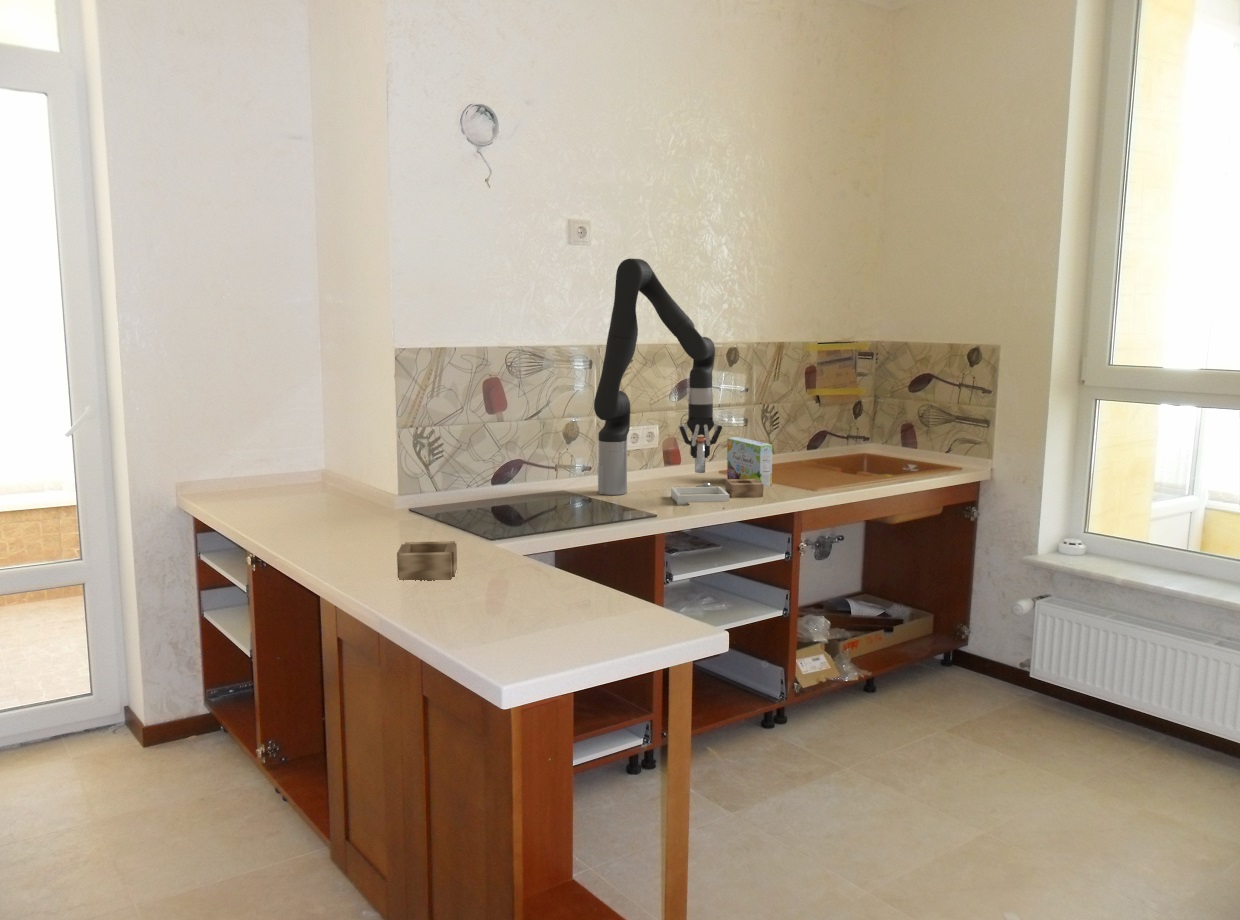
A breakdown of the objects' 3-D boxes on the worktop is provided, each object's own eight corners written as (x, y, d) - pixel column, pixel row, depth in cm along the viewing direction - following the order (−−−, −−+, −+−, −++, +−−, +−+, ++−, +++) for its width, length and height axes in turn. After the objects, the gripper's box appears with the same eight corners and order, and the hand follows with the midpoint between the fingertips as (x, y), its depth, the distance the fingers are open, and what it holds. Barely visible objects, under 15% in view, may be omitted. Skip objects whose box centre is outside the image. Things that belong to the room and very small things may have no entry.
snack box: (725, 479, 338) (726, 437, 336) (739, 478, 341) (740, 436, 338) (758, 489, 319) (759, 444, 317) (772, 488, 322) (774, 443, 319)
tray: (677, 505, 293) (677, 495, 292) (670, 496, 306) (671, 487, 306) (729, 504, 294) (729, 494, 294) (720, 495, 308) (720, 486, 307)
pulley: (697, 496, 307) (697, 485, 306) (693, 492, 314) (694, 481, 313) (719, 496, 307) (719, 485, 307) (715, 492, 314) (715, 481, 314)
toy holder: (396, 587, 204) (395, 555, 203) (404, 572, 216) (403, 542, 215) (453, 586, 205) (452, 554, 204) (457, 571, 217) (457, 541, 216)
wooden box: (731, 500, 300) (731, 484, 299) (725, 494, 310) (725, 479, 309) (763, 500, 301) (763, 484, 300) (755, 494, 311) (756, 478, 310)
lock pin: (694, 473, 297) (695, 438, 295) (692, 471, 301) (692, 436, 299) (707, 473, 297) (707, 437, 295) (705, 471, 301) (705, 436, 299)
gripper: (679, 403, 291) (679, 459, 294) (725, 403, 293) (724, 459, 295) (676, 401, 299) (675, 456, 301) (720, 401, 300) (720, 455, 302)
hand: (700, 457), depth 298 cm, fingers closed on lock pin, 3 cm apart
